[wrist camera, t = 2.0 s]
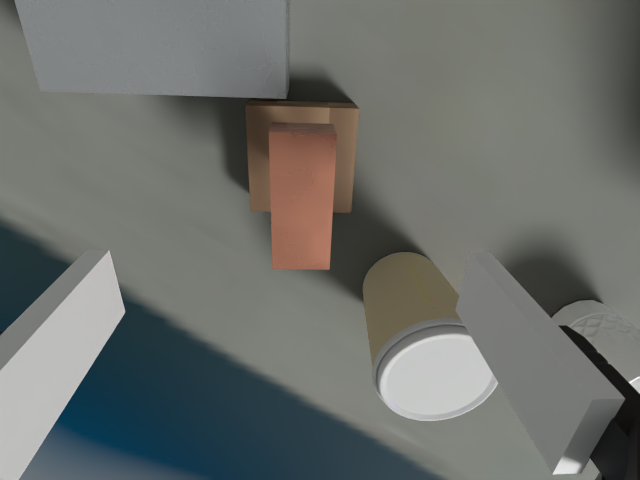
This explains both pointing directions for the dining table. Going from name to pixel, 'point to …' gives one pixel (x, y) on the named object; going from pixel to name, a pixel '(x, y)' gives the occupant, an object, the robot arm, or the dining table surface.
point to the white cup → (606, 335)
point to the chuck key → (301, 194)
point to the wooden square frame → (300, 112)
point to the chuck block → (159, 46)
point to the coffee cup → (421, 341)
